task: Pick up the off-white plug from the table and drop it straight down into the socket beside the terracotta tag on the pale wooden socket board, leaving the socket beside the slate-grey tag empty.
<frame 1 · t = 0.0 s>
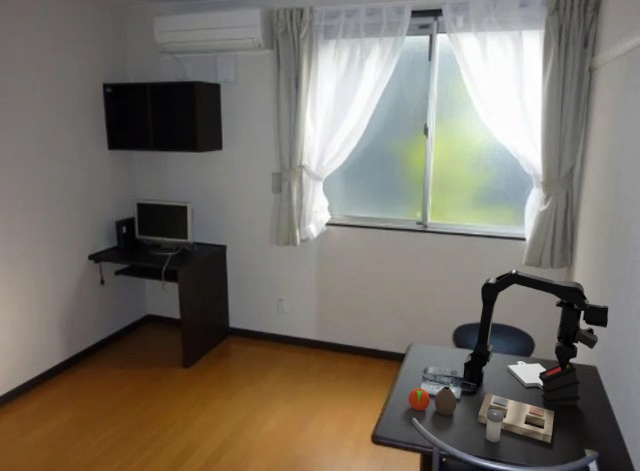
hand: (563, 364, 159), 15 cm above the table, tool pointing down, fingers open, 9 cm apart
mounting plate: (531, 378, 180), on the table
socket board: (515, 419, 153), on the table
clementine: (418, 410, 158), on the table
vase: (444, 412, 157), on the table
plug: (492, 437, 144), on the table
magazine: (556, 403, 162), on the table
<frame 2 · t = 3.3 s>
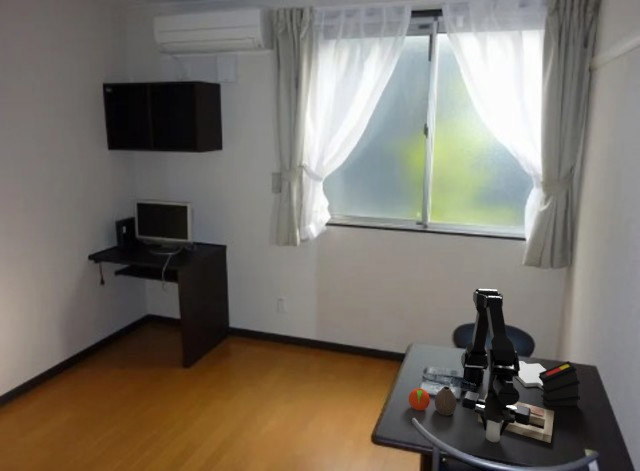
hand: (493, 432, 144), 2 cm above the table, tool pointing down, fingers closed on plug, 4 cm apart
plug: (492, 437, 144), on the table, touching gripper
everything else where it was.
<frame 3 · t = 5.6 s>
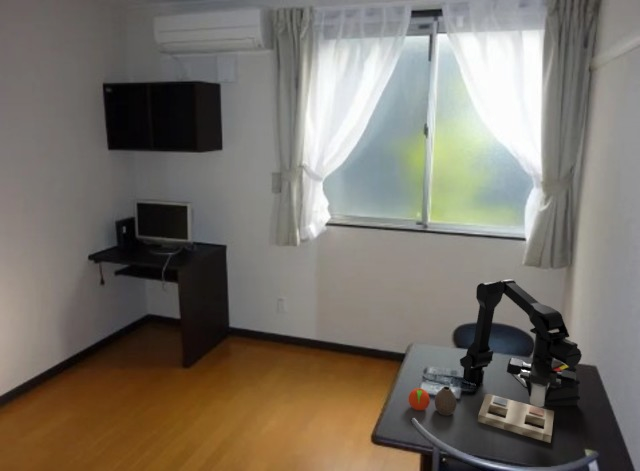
hand: (537, 397, 146), 11 cm above the table, tool pointing down, fingers closed on plug, 4 cm apart
plug: (536, 403, 147), point 9 cm above the table, touching gripper
everything else where it was.
when the fingers open (5 cm above the table, at t = 7.9 s): plug drops 3 cm, resting in socket board.
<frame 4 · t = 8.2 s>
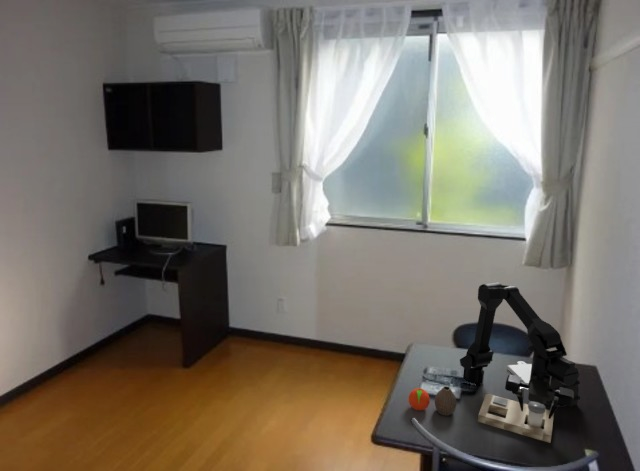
hand: (535, 414, 148), 5 cm above the table, tool pointing down, fingers open, 7 cm apart
plug: (533, 428, 149), resting in socket board
everything else where it was.
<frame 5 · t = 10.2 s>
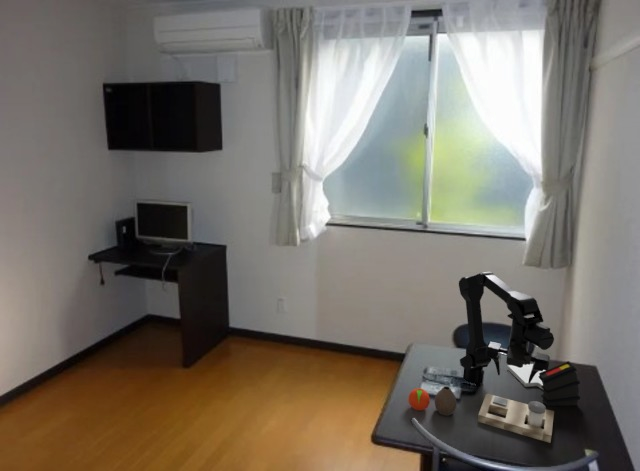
hand: (513, 378, 155), 12 cm above the table, tool pointing down, fingers open, 9 cm apart
nothing on the table moved.
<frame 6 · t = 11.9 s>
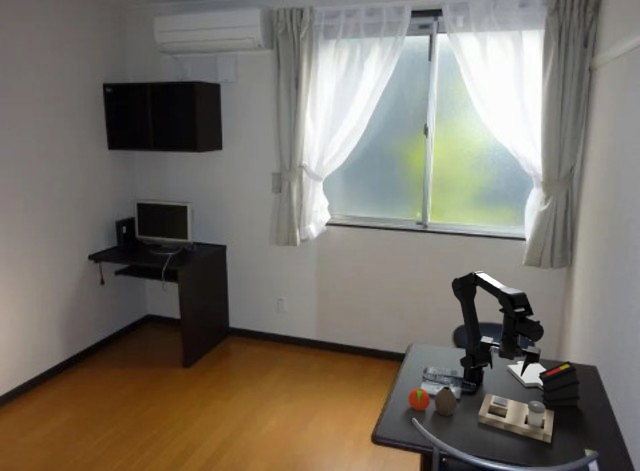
hand: (506, 372, 158), 12 cm above the table, tool pointing down, fingers open, 9 cm apart
nothing on the table moved.
at the end: plug 0.0 cm from the target spot on the socket board, point 0.0 cm above the socket board's base; plug tilted 1°; the gripper is holding nothing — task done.
